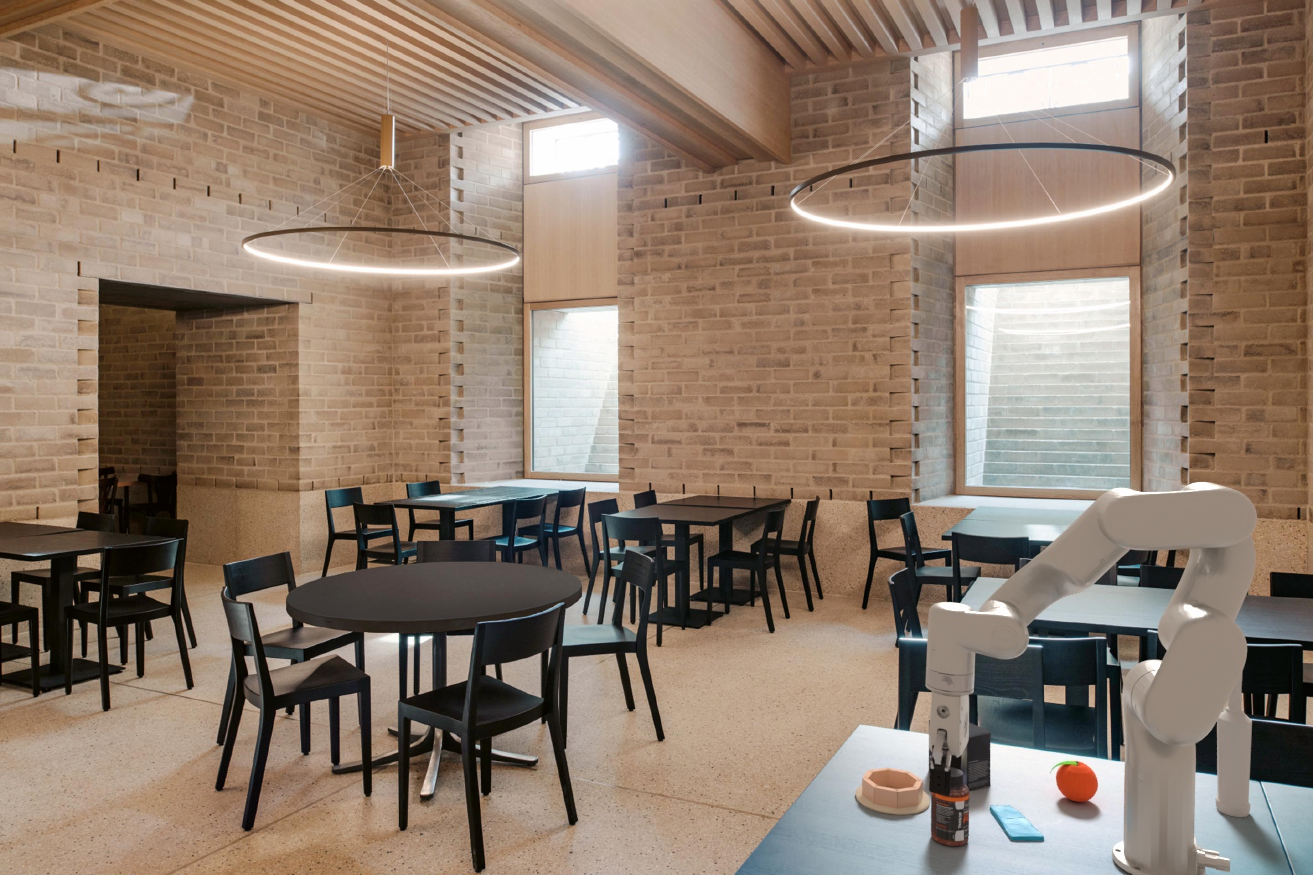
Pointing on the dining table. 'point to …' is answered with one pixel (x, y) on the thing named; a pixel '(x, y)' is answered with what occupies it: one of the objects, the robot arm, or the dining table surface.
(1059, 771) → the clementine
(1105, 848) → the dining table surface
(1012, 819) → the sponge
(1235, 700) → the bottle
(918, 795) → the cup holder
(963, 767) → the small box
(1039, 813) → the dining table surface
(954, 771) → the supplement bottle
